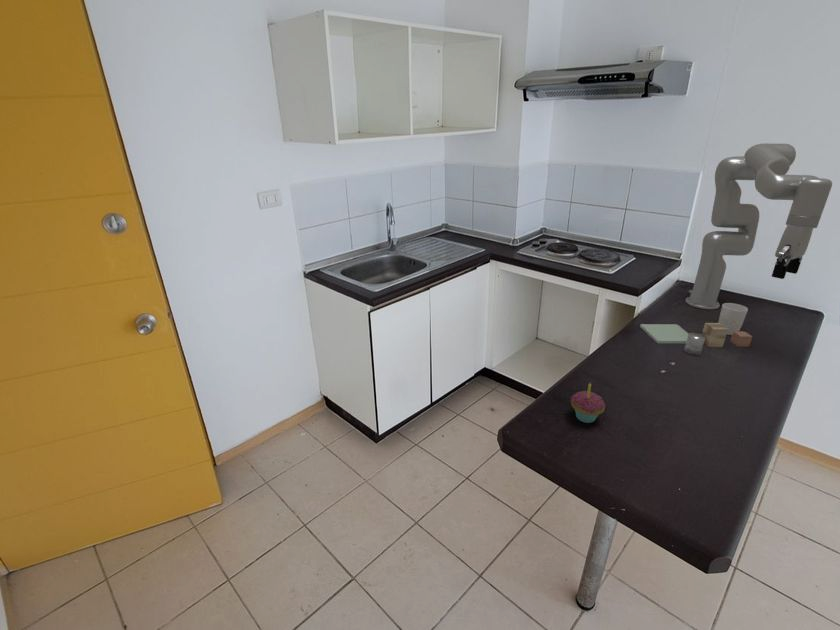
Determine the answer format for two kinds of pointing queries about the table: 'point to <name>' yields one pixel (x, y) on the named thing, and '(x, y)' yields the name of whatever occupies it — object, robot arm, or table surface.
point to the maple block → (714, 334)
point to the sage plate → (665, 333)
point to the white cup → (732, 316)
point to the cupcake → (587, 405)
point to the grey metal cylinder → (694, 343)
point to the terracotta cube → (741, 338)
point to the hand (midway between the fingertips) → (784, 275)
